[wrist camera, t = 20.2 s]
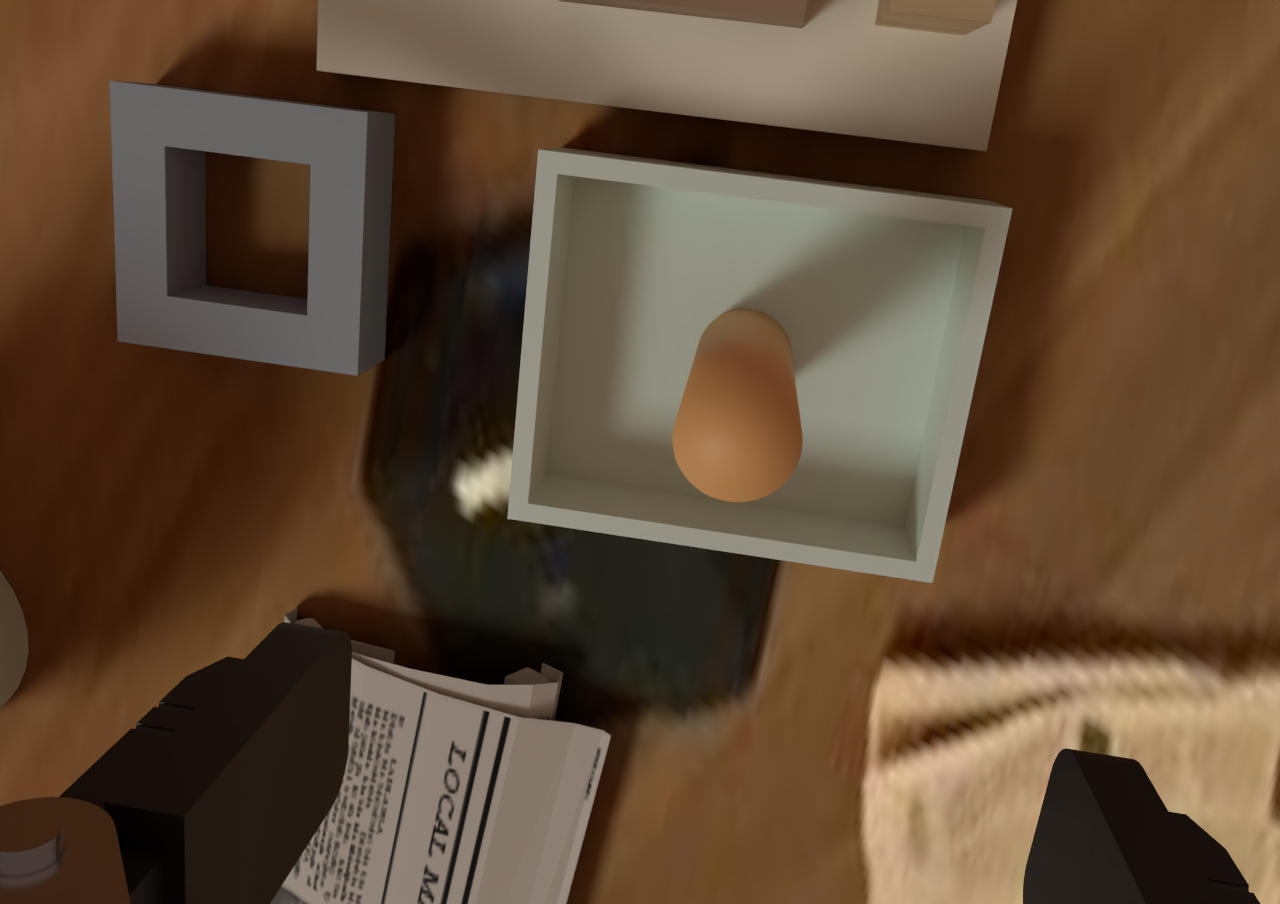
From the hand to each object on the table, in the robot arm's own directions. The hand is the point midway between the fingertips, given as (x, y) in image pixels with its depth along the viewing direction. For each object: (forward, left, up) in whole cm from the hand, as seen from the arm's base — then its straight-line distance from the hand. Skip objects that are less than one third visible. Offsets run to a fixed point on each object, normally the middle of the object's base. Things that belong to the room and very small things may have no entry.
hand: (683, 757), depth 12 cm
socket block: (-2, -16, -24) cm, 29 cm away
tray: (0, 0, -24) cm, 24 cm away
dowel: (0, 0, -23) cm, 23 cm away
